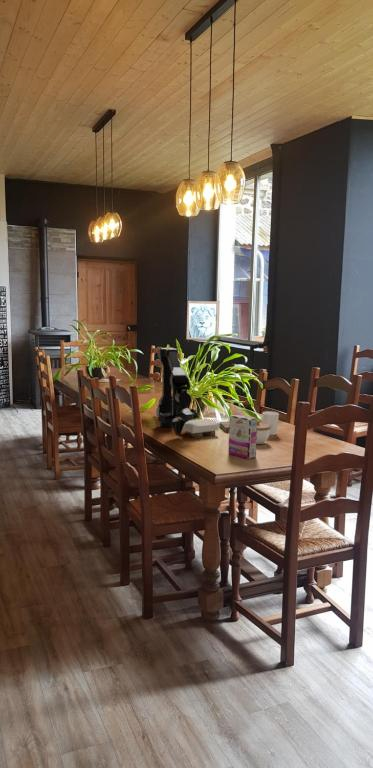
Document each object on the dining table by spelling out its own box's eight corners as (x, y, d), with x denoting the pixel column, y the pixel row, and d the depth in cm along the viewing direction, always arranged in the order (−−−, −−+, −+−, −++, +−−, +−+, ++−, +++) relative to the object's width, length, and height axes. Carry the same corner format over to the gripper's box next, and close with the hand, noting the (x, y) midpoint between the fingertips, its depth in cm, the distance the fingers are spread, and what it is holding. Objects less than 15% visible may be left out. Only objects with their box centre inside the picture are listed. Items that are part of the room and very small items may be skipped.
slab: (179, 427, 270) (179, 421, 269) (204, 425, 277) (204, 418, 277) (192, 433, 260) (192, 426, 259) (218, 430, 267) (218, 423, 266)
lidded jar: (250, 445, 250) (251, 424, 249) (242, 439, 261) (242, 419, 259) (273, 444, 253) (274, 423, 252) (264, 438, 263) (264, 418, 262)
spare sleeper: (219, 427, 285) (219, 421, 285) (225, 427, 286) (225, 421, 285) (225, 433, 273) (225, 427, 273) (231, 433, 274) (232, 427, 274)
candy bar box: (256, 457, 233) (258, 417, 230) (248, 459, 229) (250, 419, 227) (235, 451, 240) (237, 413, 238) (227, 454, 237) (229, 415, 234)
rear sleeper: (191, 432, 274) (191, 426, 273) (195, 431, 276) (195, 425, 276) (211, 437, 266) (211, 430, 265) (215, 436, 268) (215, 429, 268)
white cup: (270, 436, 267) (271, 415, 266) (257, 433, 273) (258, 412, 272) (281, 434, 272) (282, 413, 271) (269, 431, 278) (269, 410, 277)
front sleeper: (185, 433, 273) (185, 426, 272) (191, 432, 274) (191, 426, 273) (196, 439, 262) (196, 432, 261) (202, 438, 263) (202, 432, 262)
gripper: (172, 406, 247) (172, 441, 250) (206, 402, 259) (205, 435, 261) (157, 402, 256) (157, 436, 258) (190, 398, 267) (189, 431, 270)
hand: (178, 435), depth 262 cm, fingers closed
